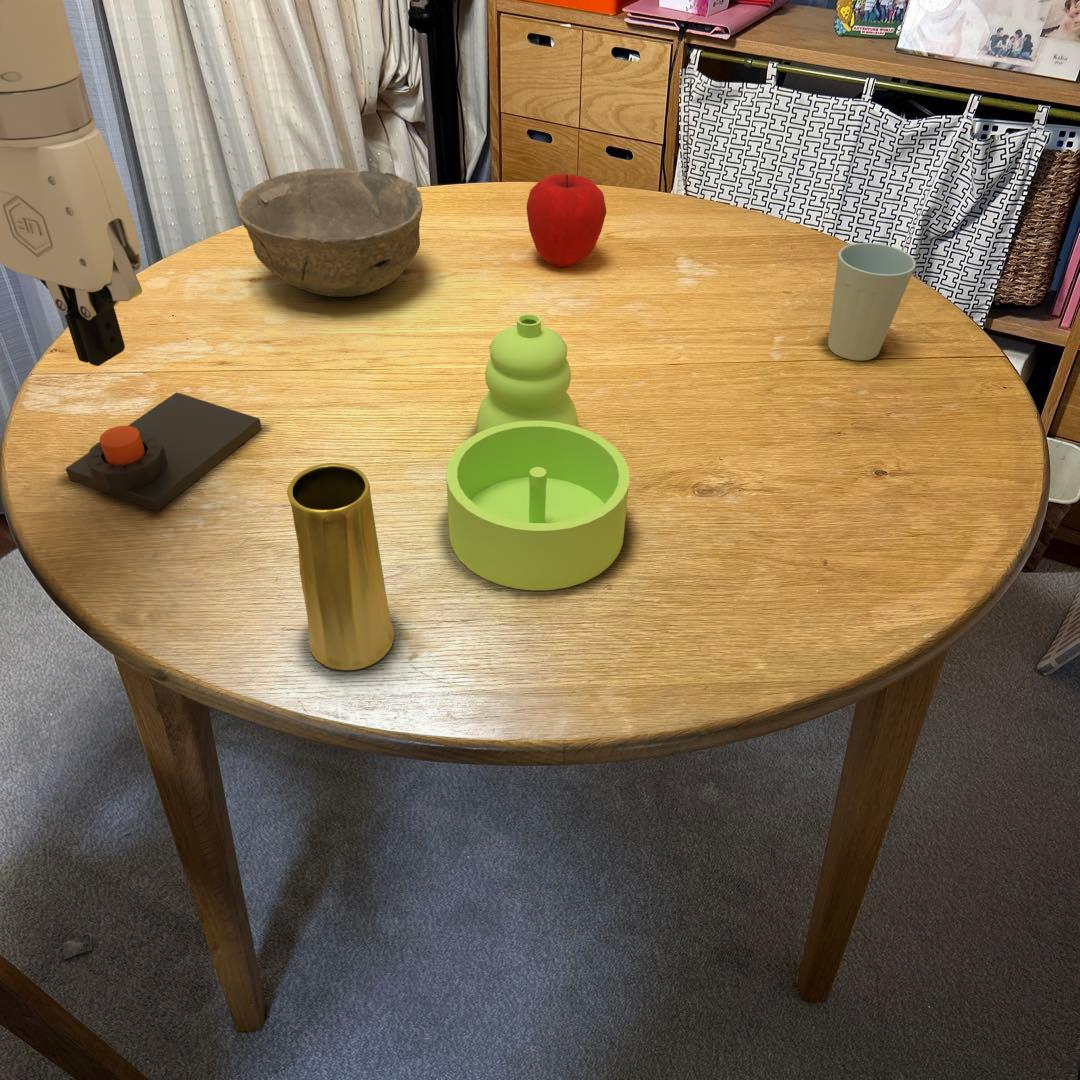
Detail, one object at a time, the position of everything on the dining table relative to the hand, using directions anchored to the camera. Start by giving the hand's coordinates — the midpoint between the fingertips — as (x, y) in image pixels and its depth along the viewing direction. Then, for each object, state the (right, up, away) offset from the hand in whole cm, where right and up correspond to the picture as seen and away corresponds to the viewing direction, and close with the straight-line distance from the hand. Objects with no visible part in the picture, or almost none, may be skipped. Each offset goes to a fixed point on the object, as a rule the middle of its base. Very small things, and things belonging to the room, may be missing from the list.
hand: (103, 355), depth 74 cm
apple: (+37, +20, +46) cm, 62 cm away
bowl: (+10, +16, +40) cm, 44 cm away
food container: (+33, -10, +10) cm, 36 cm away
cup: (+68, +7, +31) cm, 75 cm away
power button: (-2, -7, +8) cm, 11 cm away
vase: (+20, -22, -4) cm, 30 cm away
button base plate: (0, -6, +13) cm, 15 cm away
